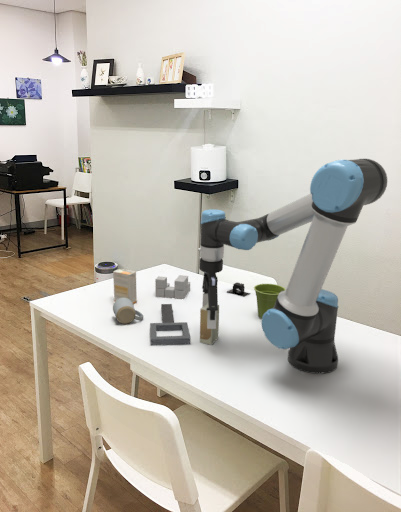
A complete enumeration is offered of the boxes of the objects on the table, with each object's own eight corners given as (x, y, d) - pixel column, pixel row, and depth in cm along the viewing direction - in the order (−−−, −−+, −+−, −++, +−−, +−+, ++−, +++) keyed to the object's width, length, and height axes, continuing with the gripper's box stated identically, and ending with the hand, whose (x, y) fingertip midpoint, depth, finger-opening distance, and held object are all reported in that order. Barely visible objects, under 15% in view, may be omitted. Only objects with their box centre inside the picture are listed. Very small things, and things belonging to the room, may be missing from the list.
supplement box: (137, 302, 196) (136, 271, 192) (129, 306, 192) (128, 274, 188) (121, 298, 200) (120, 267, 197) (113, 301, 196) (112, 270, 193)
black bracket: (255, 295, 209) (255, 285, 208) (246, 299, 203) (246, 289, 202) (230, 288, 216) (231, 278, 215) (221, 293, 210) (221, 283, 209)
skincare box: (207, 335, 168) (208, 302, 164) (218, 338, 166) (220, 304, 162) (198, 342, 162) (199, 308, 159) (210, 345, 160) (211, 310, 157)
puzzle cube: (190, 290, 212) (190, 273, 210) (183, 300, 200) (183, 281, 198) (163, 287, 214) (163, 270, 212) (155, 297, 203) (155, 279, 201)
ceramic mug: (116, 326, 174) (116, 306, 171) (112, 317, 181) (112, 298, 179) (145, 323, 177) (145, 303, 175) (140, 314, 184) (140, 295, 182)
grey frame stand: (190, 344, 161) (190, 338, 160) (150, 345, 159) (150, 339, 159) (183, 308, 190) (183, 303, 190) (149, 309, 189) (149, 304, 188)
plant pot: (269, 325, 177) (271, 296, 174) (245, 315, 185) (247, 287, 182) (290, 317, 184) (292, 289, 181) (266, 308, 193) (268, 281, 190)
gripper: (195, 247, 168) (193, 305, 174) (204, 270, 144) (201, 336, 150) (217, 247, 169) (214, 305, 175) (229, 270, 145) (225, 335, 151)
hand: (208, 319), depth 162 cm, fingers open, 13 cm apart
